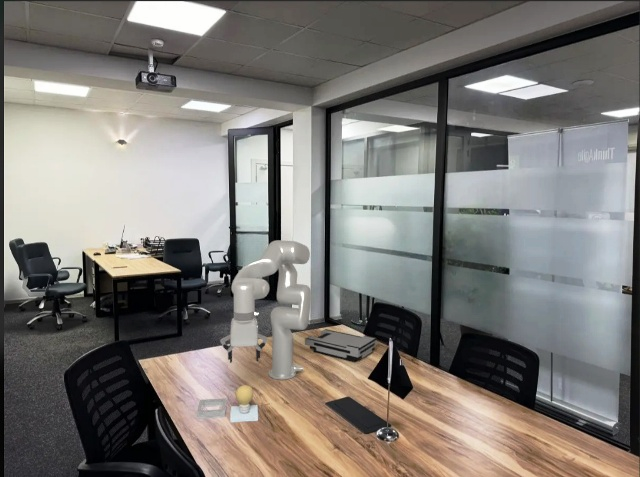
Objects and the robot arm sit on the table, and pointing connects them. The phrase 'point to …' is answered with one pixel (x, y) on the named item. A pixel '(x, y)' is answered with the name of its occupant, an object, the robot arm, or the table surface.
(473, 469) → the table surface
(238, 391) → the light bulb
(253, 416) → the pad
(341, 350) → the game console
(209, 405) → the frame
